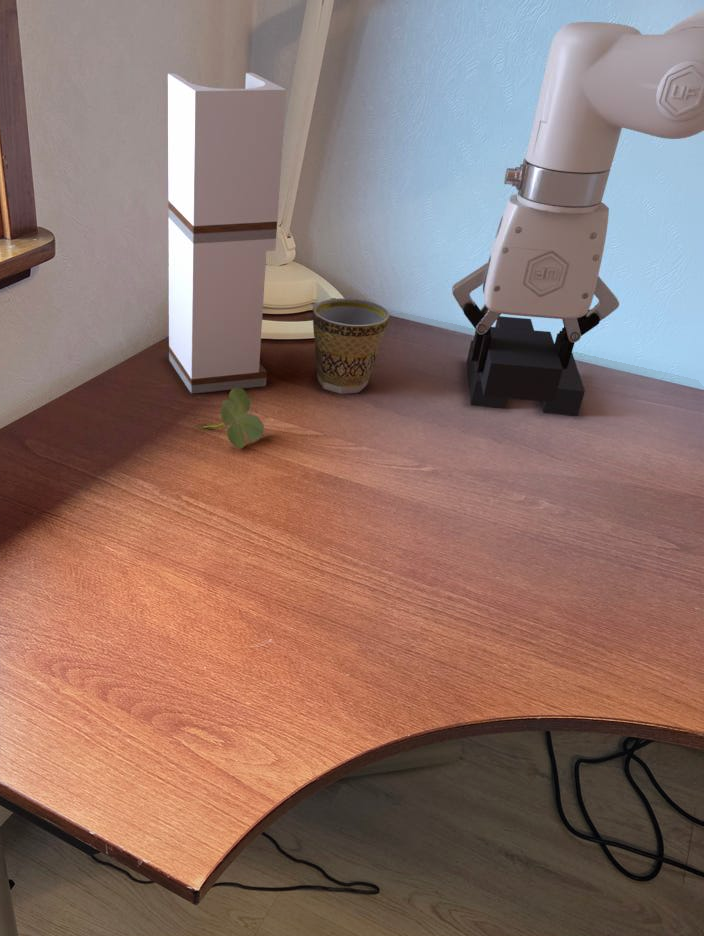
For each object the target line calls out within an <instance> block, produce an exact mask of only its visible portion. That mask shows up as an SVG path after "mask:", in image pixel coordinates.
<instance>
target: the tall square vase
mask: <svg viewBox="0 0 704 936" xmlns="http://www.w3.org/2000/svg"><path fill="white" fill-rule="evenodd" d="M286 101H287V89H286V88H284V87H283V86H280V85H278V84H276V83H274V82H272V81H270V80H269V79H266V78H264V77H262V76H261V75H258V74H256V73H254V72H245V86H244V88H220V87H210V86H203V85H198V84H194V83H191V82H189V81H188V80H186V79H184V78H183V77H182V76H180V75H178V74H177V73H167V137H168V138H167V145H168V146H167V153H168V154H167V164H168V165H167V166H168V167H167V174H168V175H167V176H168V177H167V178H168V180H167V181H168V183H167V184H168V185H167V186H168V187H167V190H168V191H167V192H168V200H167V201H168V203H167V204H168V212H167V213H168V361H169V363H170V364H171V365H172V367H173V368H174V370H175V372H176V373H177V375H178V376H179V377H180V379H181V381H182V382H183V383H184V385H185V387H186V388H187V389H188V391H189V392H190V394H192V395H193V394H201V393H202V394H203V393H212V392H221V391H231V390H232V389H234V388H237V387H238V388H242V389H250V388H260V387H266V386H267V376H268V371H267V370H266V368H265V367H264V366H263V365H262V364H261V362H260V359H261V357H260V356H261V344H262V329H263V313H264V295H265V284H266V283H265V281H266V266H267V265H266V264H267V252H270V251H271V252H273V251H276V248H277V231H278V219H279V216H278V215H279V202H280V190H281V189H280V188H281V176H282V158H283V145H284V133H285V131H284V129H285V119H286V118H285V117H286Z"/></svg>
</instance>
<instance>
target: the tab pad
mask: <svg viewBox="0 0 704 936" xmlns="http://www.w3.org/2000/svg"><path fill="white" fill-rule="evenodd" d="M490 332H491V342H490V346H489V349H488V353H487V357H486V362H485V366H484V371H483V372H482V373H480V377H481V383H482V390H483V396H490V397H501V398H507V399H514V400H523V401H533V402H540V401H544V402H554V400H555V396H556V393H557V389H558V386H559V382H560V379H561V375H562V372H563V368H562V365H561V362H560V359H559V356H558V353H557V350H556V347H555V341H554V338H553V335H552V333H551V331H548V330H547V331H545V330H535V328H534V325H533V322H532V319H531V318H524V317H513V316H502V315H500V316H499V317H498V319H497V320H496V321H495V326H491V327H490Z"/></svg>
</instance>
